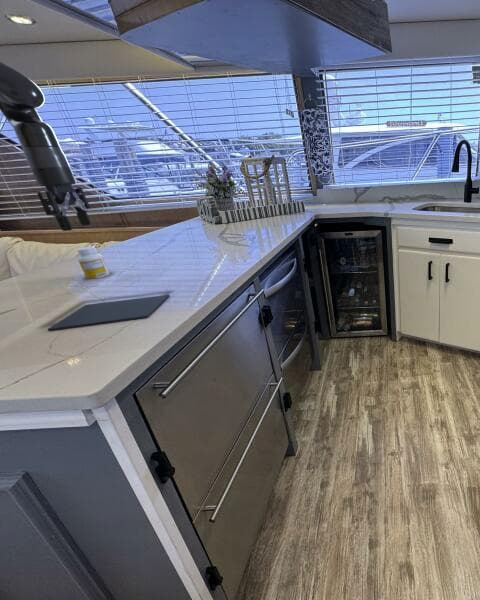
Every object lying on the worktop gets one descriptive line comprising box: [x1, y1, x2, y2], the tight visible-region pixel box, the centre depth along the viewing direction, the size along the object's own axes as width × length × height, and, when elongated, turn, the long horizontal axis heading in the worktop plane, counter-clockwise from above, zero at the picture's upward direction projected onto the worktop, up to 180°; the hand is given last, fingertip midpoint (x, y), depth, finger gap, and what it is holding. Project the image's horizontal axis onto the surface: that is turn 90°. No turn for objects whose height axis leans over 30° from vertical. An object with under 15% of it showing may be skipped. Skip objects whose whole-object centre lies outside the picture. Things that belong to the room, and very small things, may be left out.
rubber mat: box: [47, 294, 170, 332], centre depth 74 cm, size 18×13×1 cm
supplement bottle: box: [76, 246, 110, 280], centre depth 96 cm, size 5×5×10 cm
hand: (77, 227), depth 91 cm, fingers open, 8 cm apart
